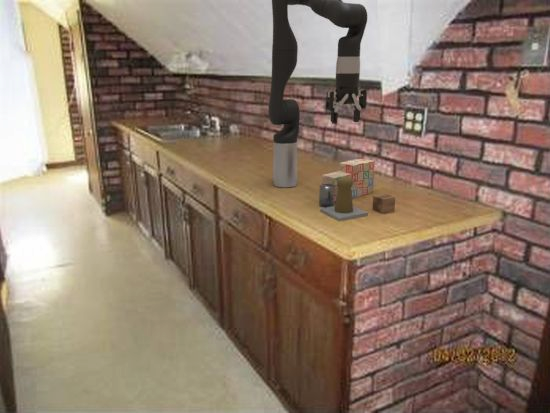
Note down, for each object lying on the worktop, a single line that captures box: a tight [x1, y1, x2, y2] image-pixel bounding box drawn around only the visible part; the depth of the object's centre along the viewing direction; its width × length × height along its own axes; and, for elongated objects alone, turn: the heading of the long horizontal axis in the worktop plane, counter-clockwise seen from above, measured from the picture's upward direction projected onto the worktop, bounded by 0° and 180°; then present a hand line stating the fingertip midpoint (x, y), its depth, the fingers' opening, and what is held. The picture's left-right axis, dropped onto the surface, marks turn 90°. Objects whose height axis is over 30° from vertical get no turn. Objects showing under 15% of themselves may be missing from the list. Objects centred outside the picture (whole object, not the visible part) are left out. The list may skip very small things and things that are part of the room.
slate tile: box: [319, 205, 369, 222], centre depth 153 cm, size 11×11×1 cm
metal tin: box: [318, 183, 335, 208], centre depth 161 cm, size 5×5×7 cm
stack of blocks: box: [321, 158, 375, 204], centre depth 171 cm, size 21×6×12 cm, turn 130°
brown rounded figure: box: [334, 177, 354, 213], centre depth 151 cm, size 6×6×11 cm
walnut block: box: [372, 193, 396, 215], centre depth 155 cm, size 5×5×5 cm
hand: (345, 122), depth 155 cm, fingers open, 8 cm apart
